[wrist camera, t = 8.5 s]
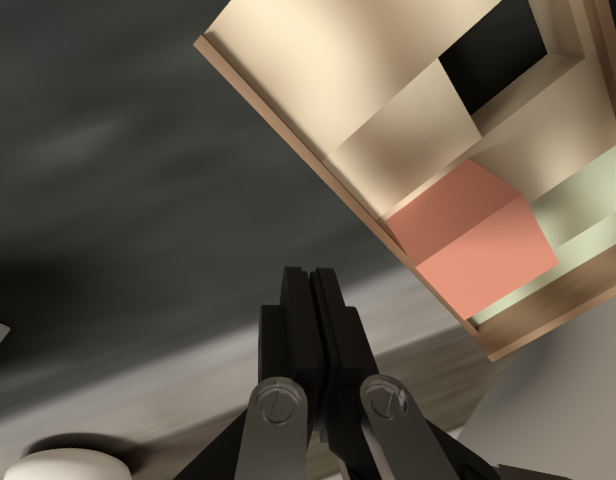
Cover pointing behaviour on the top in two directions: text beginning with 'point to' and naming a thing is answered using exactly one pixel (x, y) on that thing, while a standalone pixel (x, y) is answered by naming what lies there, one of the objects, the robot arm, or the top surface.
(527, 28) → the top surface
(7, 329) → the coffee box
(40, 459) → the flower in vase
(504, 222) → the block
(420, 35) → the board
